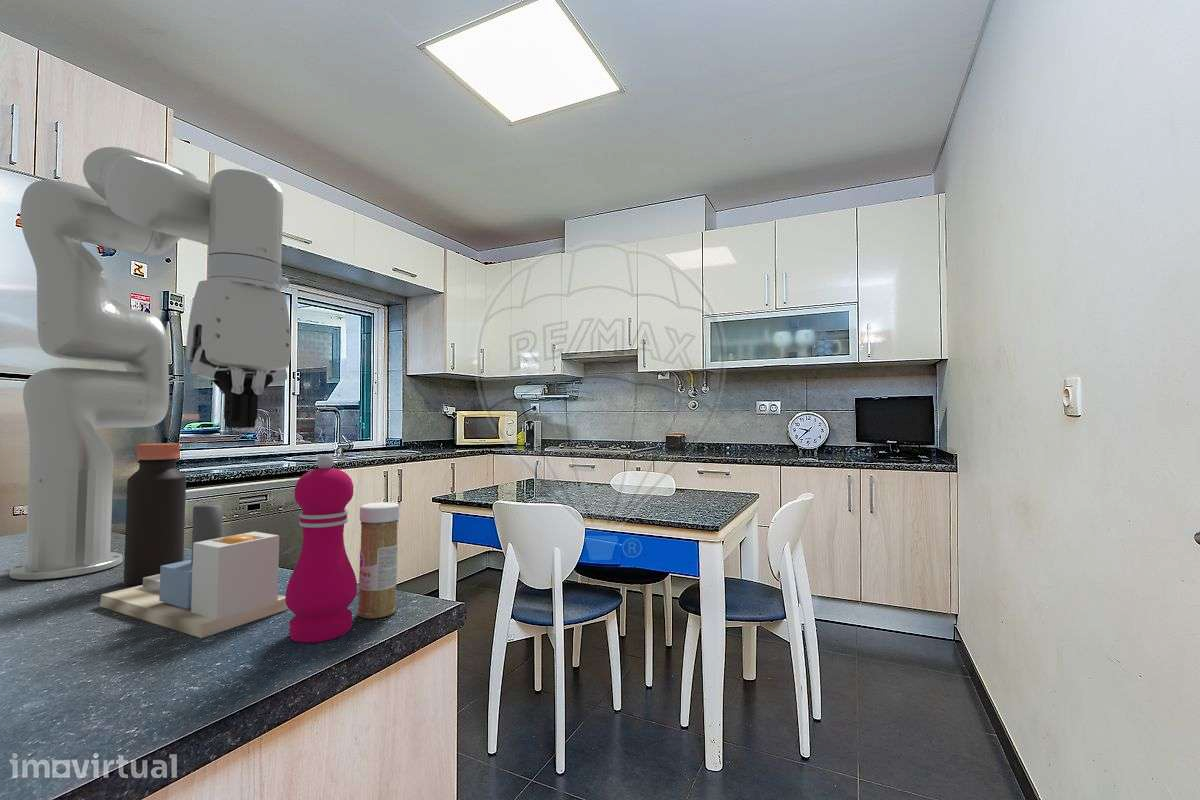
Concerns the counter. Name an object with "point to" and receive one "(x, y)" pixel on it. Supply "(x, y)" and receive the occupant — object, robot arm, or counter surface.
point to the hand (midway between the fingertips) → (240, 427)
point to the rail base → (179, 610)
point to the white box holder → (234, 575)
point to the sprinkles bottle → (378, 559)
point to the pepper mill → (322, 557)
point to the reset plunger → (237, 539)
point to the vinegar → (154, 513)
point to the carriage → (180, 574)
